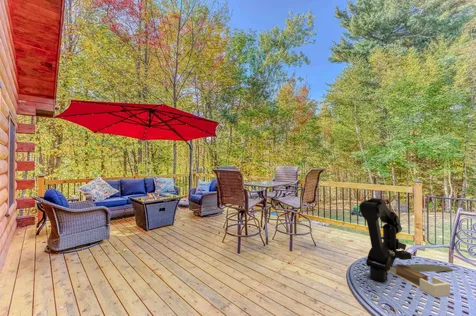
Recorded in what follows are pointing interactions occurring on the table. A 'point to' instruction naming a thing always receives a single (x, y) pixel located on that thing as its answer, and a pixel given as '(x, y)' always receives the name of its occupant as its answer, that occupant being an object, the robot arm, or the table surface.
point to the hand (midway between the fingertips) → (390, 266)
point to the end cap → (435, 287)
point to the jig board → (393, 271)
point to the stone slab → (428, 268)
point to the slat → (410, 274)
